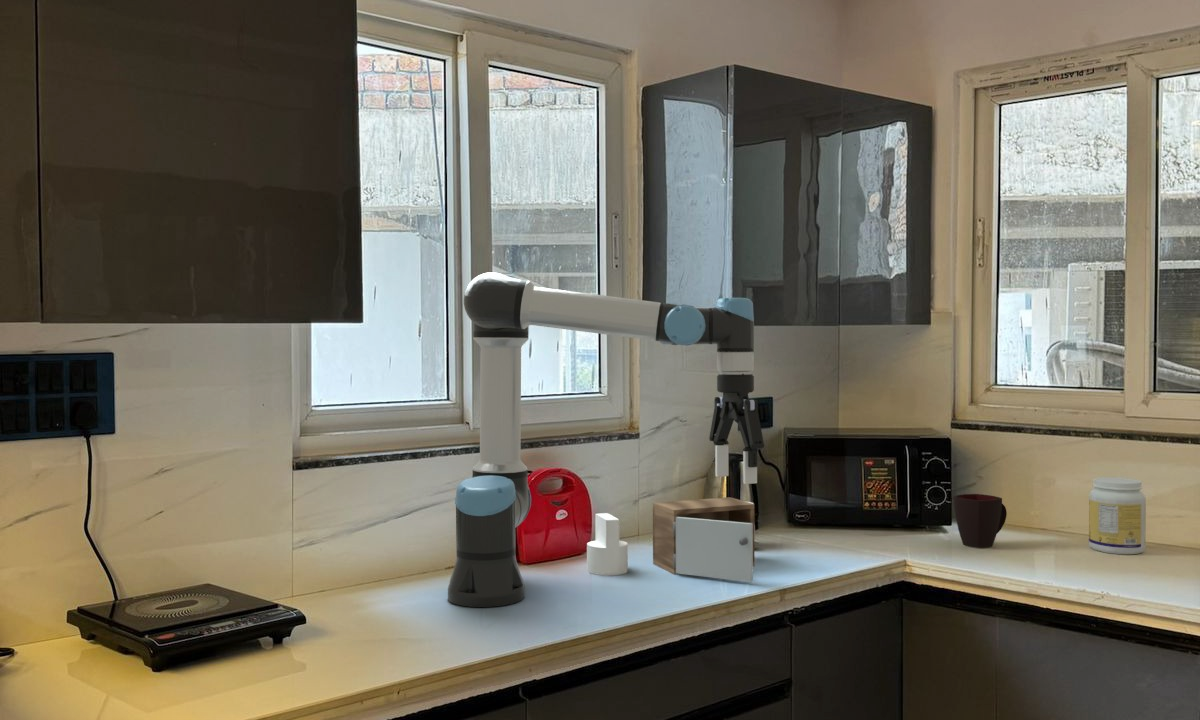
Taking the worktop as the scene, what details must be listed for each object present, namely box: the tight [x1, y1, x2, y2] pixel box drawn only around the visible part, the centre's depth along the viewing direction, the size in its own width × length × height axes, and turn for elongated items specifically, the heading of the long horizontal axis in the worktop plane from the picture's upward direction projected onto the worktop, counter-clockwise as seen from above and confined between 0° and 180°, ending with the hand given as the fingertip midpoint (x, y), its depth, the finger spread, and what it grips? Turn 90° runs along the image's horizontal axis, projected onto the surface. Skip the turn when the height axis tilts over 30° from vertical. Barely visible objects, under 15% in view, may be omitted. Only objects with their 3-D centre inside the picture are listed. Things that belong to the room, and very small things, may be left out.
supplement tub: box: [1088, 476, 1147, 555], centre depth 241 cm, size 12×12×17 cm
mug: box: [953, 493, 1008, 549], centre depth 248 cm, size 10×14×12 cm
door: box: [673, 517, 754, 583], centre depth 212 cm, size 18×3×12 cm, turn 61°
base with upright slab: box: [586, 512, 629, 576], centre depth 222 cm, size 9×9×12 cm
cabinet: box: [652, 497, 756, 575], centre depth 227 cm, size 20×11×14 cm, turn 111°
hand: (735, 479), depth 206 cm, fingers open, 11 cm apart
